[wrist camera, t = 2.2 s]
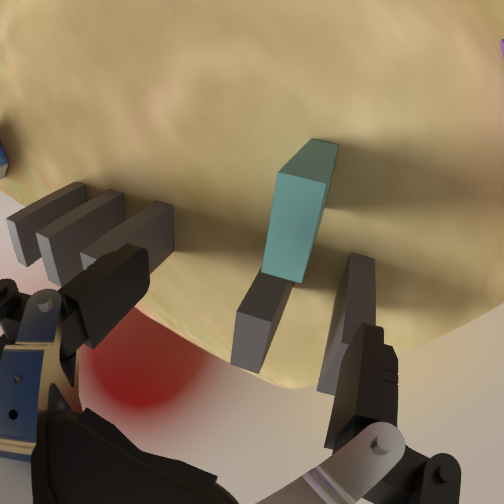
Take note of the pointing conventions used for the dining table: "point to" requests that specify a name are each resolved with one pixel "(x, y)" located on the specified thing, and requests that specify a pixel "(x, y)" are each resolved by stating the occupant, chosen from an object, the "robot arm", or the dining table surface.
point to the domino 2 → (78, 234)
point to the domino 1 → (41, 219)
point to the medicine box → (3, 163)
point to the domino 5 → (298, 209)
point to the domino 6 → (348, 316)
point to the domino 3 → (138, 236)
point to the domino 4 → (258, 320)
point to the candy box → (502, 45)
